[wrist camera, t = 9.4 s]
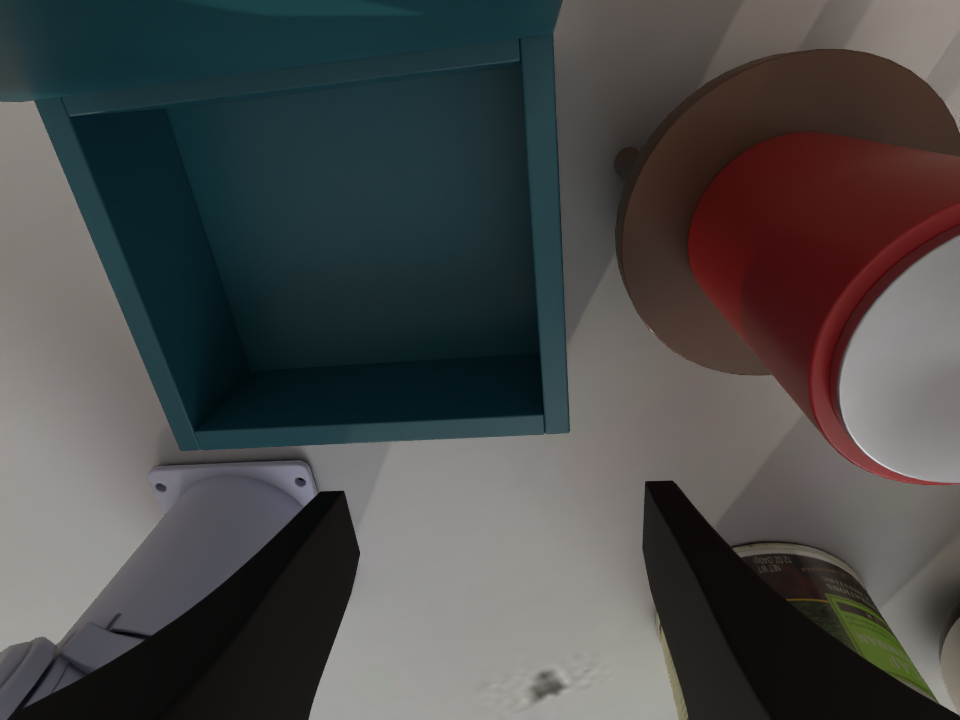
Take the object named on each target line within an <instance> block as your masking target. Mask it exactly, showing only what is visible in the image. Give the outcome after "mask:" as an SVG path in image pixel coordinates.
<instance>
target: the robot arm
mask: <svg viewBox="0 0 960 720" xmlns="http://www.w3.org/2000/svg"><path fill="white" fill-rule="evenodd" d="M147 476H148V480H149V482H150V484H151V486H152V488H153V491H154V493H155V495H156V497H157V499H158V501H159V504H160V506H161V508H162V510H163V512H164V514H165V516H164V517H163V518H162V520H161V521H160V522H159V523H158V524H157V526H156V527H155V528H154V529H153V530H152V532H151V533H150V534H149V535H148V536H147V538H146V539H145V540H144V541H143V542H142V544H141V545H140V546H139V547H138V548H137V550H136V551H135V552H134V553H133V554H132V556H131V557H130V558H129V559H128V561H127V562H126V563H125V564H124V565H123V567H122V568H121V569H120V570H119V571H118V573H117V574H116V575H115V576H114V577H113V579H112V580H111V581H110V582H109V583H108V585H107V586H106V587H105V588H104V589H103V591H102V592H101V593H100V594H99V595H98V597H97V598H96V599H95V600H94V601H93V603H92V604H91V605H90V606H89V607H88V609H87V610H86V611H85V612H84V613H83V615H82V616H81V617H80V618H79V620H78V621H77V622H76V623H75V624H74V626H73V627H72V628H71V629H70V630H69V632H68V633H67V634H66V635H65V636H64V638H63V639H62V640H61V641H60V642H59V643H58V644H56V645H55V644H53V643H52V642H51V641H50V640H48V639H47V638H45V637H39V638H35V639H34V640H32V641H30V642H24V643H20V644H15V645H12V646H9V647H7V648H6V649H5V650H3V651H2V652H1V653H0V720H308V719H309V715H310V711H311V707H312V703H313V700H314V697H315V694H316V691H317V688H318V685H319V682H320V679H321V676H322V673H323V671H324V668H325V665H326V662H327V660H328V657H329V654H330V651H331V649H332V646H333V643H334V640H335V638H336V635H337V632H338V629H339V627H340V624H341V621H342V618H343V615H344V612H345V610H346V607H347V604H348V601H349V598H350V595H351V592H352V588H353V584H354V579H355V575H356V570H357V566H358V561H359V556H360V551H359V547H358V543H357V539H356V535H355V531H354V528H353V524H352V520H351V516H350V512H349V508H348V504H347V500H346V496H345V493H344V491H322V492H319V493H318V492H317V489H316V485H315V482H314V479H313V475H312V472H311V469H310V467H309V465H308V464H307V463H306V462H304V461H301V460H288V461H265V462H242V463H218V464H195V465H172V466H156V467H154V468H152V469H151V470H150V471H149V472H148V475H147ZM299 478H302V479H304V480H305V481H301V480H300V479H299ZM162 484H164V485H165V486H164V485H162ZM642 548H643V554H644V559H645V564H646V570H647V575H648V580H649V585H650V590H651V593H652V597H653V600H654V603H655V606H656V610H657V613H658V616H659V619H660V623H661V626H662V629H663V632H664V635H665V639H666V642H667V645H668V648H669V651H670V654H671V658H672V661H673V664H674V667H675V670H676V674H677V677H678V680H679V683H680V686H681V690H682V694H683V698H684V701H685V705H686V709H687V713H688V718H689V720H960V716H959V715H957V714H956V713H954V712H952V711H950V710H949V709H947V708H945V707H943V706H942V705H940V704H938V703H936V702H934V701H933V700H931V699H929V698H927V697H926V696H924V695H922V694H920V693H919V692H917V691H915V690H913V689H912V688H910V687H908V686H907V685H905V684H904V683H902V682H900V681H899V680H897V679H896V678H894V677H893V676H891V675H889V674H888V673H886V672H885V671H883V670H882V669H880V668H878V667H877V666H875V665H874V664H872V663H871V662H869V661H868V660H866V659H865V658H863V657H862V656H860V655H859V654H857V653H856V652H854V651H853V650H852V649H850V648H849V647H847V646H846V645H845V644H843V643H842V642H840V641H839V640H838V639H836V638H835V637H833V636H832V635H831V634H829V633H828V632H827V631H825V630H824V629H822V628H821V627H820V626H818V625H817V624H816V623H814V622H813V621H812V620H810V619H809V618H808V617H807V616H805V615H804V614H803V613H802V612H800V611H799V610H798V609H797V608H796V607H794V606H793V605H792V604H791V603H790V602H788V601H787V600H786V599H785V598H784V597H782V596H781V595H780V594H779V593H778V592H777V591H776V590H774V589H773V588H772V587H771V586H770V585H769V584H768V583H767V582H766V581H765V580H763V579H762V578H761V577H760V576H759V575H758V574H757V573H756V572H755V571H754V570H753V569H752V568H751V567H750V566H749V565H748V564H747V563H746V562H745V561H744V560H743V559H742V558H741V557H740V556H739V555H738V554H737V553H736V552H735V551H734V550H733V549H732V548H731V547H730V546H729V545H728V544H727V543H726V542H725V540H724V539H723V538H722V537H721V536H720V535H719V534H718V533H717V532H716V531H715V530H714V529H713V527H712V526H711V525H710V524H709V523H708V522H707V521H706V519H705V518H704V517H703V516H702V515H701V514H700V512H699V511H698V510H697V509H696V508H695V507H694V505H693V504H692V503H691V502H690V500H689V499H688V498H687V497H686V495H685V494H684V493H683V492H682V490H681V489H680V488H679V487H678V485H677V484H676V483H675V482H673V481H645V498H644V522H643V547H642Z"/></svg>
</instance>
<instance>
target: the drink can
mask: <svg viewBox="0 0 960 720" xmlns="http://www.w3.org/2000/svg"><path fill="white" fill-rule="evenodd" d="M688 254H689V260H690V265H691V268H692V272H693V275H694V277H695V279H696V281H697V283H698V284H699V286H700V287H701V289H702V290H703V292H704V293H705V294H706V295H707V297H708V298H709V299H710V300H711V301H712V303H713V304H714V305H715V306H716V307H717V309H718V310H719V311H720V312H721V313H722V315H723V316H724V317H725V318H726V319H727V321H728V322H729V323H730V324H731V325H732V327H733V328H734V329H735V330H736V331H737V333H738V334H739V335H740V336H741V338H742V339H743V340H744V341H745V342H746V344H747V345H748V346H749V347H750V348H751V350H752V351H753V352H754V353H755V354H756V356H757V357H758V358H759V359H760V360H761V362H762V363H763V364H764V365H765V366H766V368H767V369H768V370H769V371H770V373H771V374H772V375H773V376H774V377H775V379H776V380H777V381H778V382H779V383H780V385H781V386H782V387H783V388H784V389H785V391H786V392H787V393H788V394H789V395H790V397H791V398H792V399H793V400H794V401H795V403H796V404H797V405H798V406H799V407H800V409H801V410H802V411H803V412H804V414H805V415H806V416H807V417H808V418H809V420H810V421H811V422H812V423H813V424H814V426H815V427H816V428H817V429H818V430H819V432H820V433H821V434H822V435H823V436H824V438H825V439H826V440H827V441H828V442H829V443H830V444H831V445H832V446H833V448H834V449H835V450H836V451H837V452H838V453H839V454H841V455H842V456H843V457H845V458H846V459H847V460H849V461H850V462H851V463H853V464H855V465H857V466H859V467H861V468H862V469H864V470H866V471H868V472H871V473H874V474H876V475H879V476H882V477H884V478H888V479H892V480H896V481H901V482H905V483H914V484H922V485H951V484H960V157H957V156H952V155H946V154H941V153H935V152H930V151H924V150H919V149H913V148H907V147H902V146H896V145H891V144H885V143H880V142H874V141H868V140H863V139H857V138H852V137H846V136H841V135H835V134H829V133H822V132H796V133H790V134H784V135H781V136H778V137H774V138H771V139H769V140H766V141H764V142H762V143H759V144H757V145H755V146H754V147H752V148H750V149H748V150H747V151H745V152H743V153H742V154H741V155H739V156H738V157H736V158H735V159H734V160H732V161H731V162H730V163H729V164H728V165H727V166H726V167H725V168H724V169H722V170H721V172H720V173H719V174H718V175H717V176H716V177H715V178H714V179H713V181H712V182H711V183H710V185H709V186H708V188H707V189H706V190H705V192H704V194H703V195H702V197H701V199H700V201H699V203H698V205H697V207H696V210H695V212H694V215H693V218H692V222H691V225H690V230H689V238H688Z"/></svg>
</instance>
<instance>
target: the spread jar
mask: <svg viewBox="0 0 960 720" xmlns="http://www.w3.org/2000/svg"><path fill="white" fill-rule="evenodd" d="M939 659H940V666H941V673H942V677H943V680H944V683H945V686H946V688H947V691H948V693H949V696H950V698H951V701H952V703H953V704H954V706H955V708H956V710H957V712H958V714H959V716H960V600H959V601H958V602H957V603H956V604H955V605H954V607H953V608H952V610H951V611H950V613H949V615H948V617H947V619H946V621H945V623H944V626H943V628H942V632H941V637H940V645H939Z"/></svg>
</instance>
